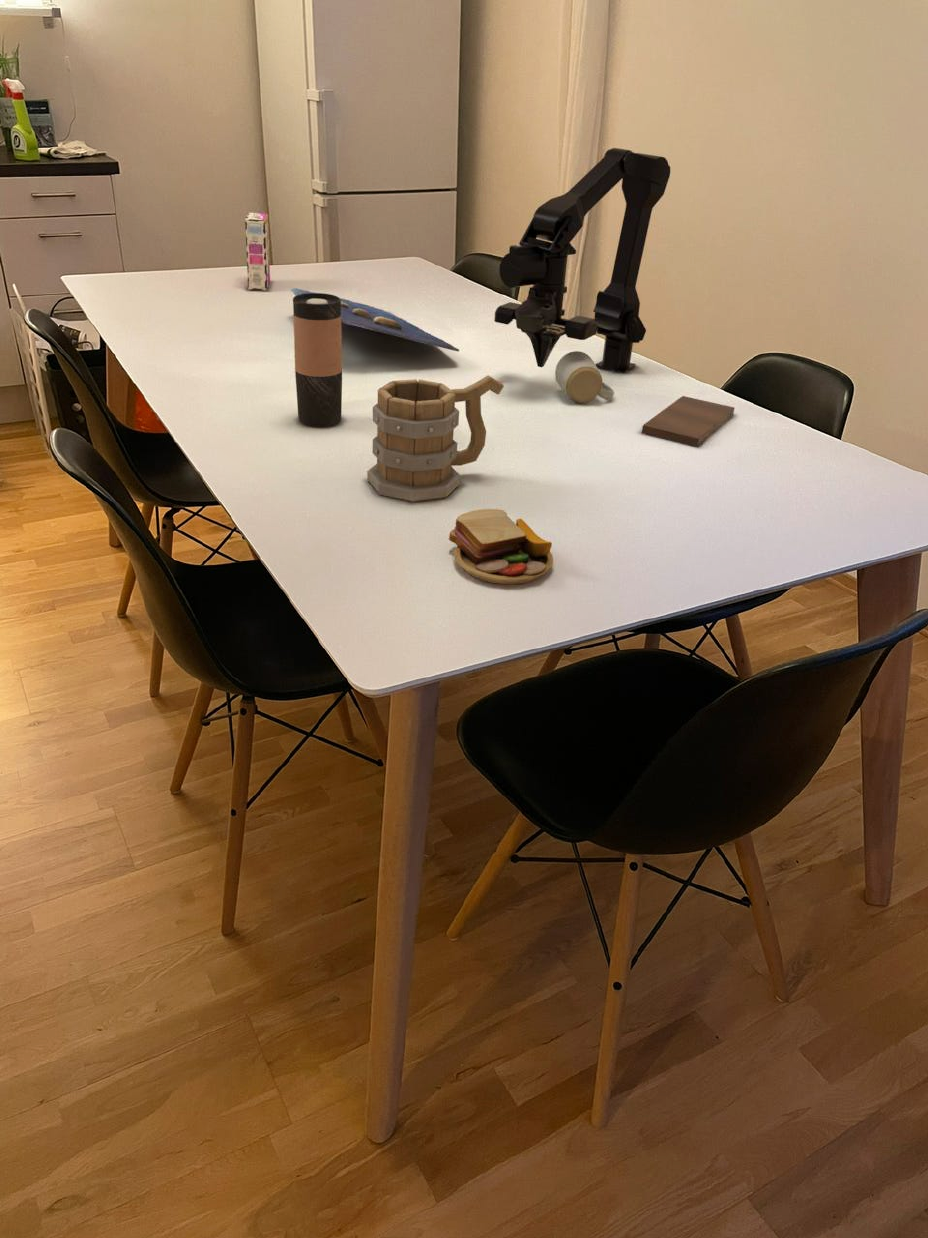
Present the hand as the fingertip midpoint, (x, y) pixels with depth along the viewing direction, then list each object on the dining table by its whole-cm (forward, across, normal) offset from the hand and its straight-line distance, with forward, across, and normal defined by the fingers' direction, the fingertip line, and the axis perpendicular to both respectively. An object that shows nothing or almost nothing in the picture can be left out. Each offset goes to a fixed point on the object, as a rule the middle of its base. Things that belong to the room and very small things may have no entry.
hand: (540, 366), depth 181 cm
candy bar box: (+4, -92, +25) cm, 95 cm away
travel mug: (+4, -20, -41) cm, 46 cm away
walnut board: (+4, +30, -1) cm, 31 cm away
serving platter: (+4, -44, +3) cm, 44 cm away
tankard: (+4, +9, -50) cm, 51 cm away
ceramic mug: (+4, +10, 0) cm, 10 cm away
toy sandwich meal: (+4, +29, -67) cm, 73 cm away
